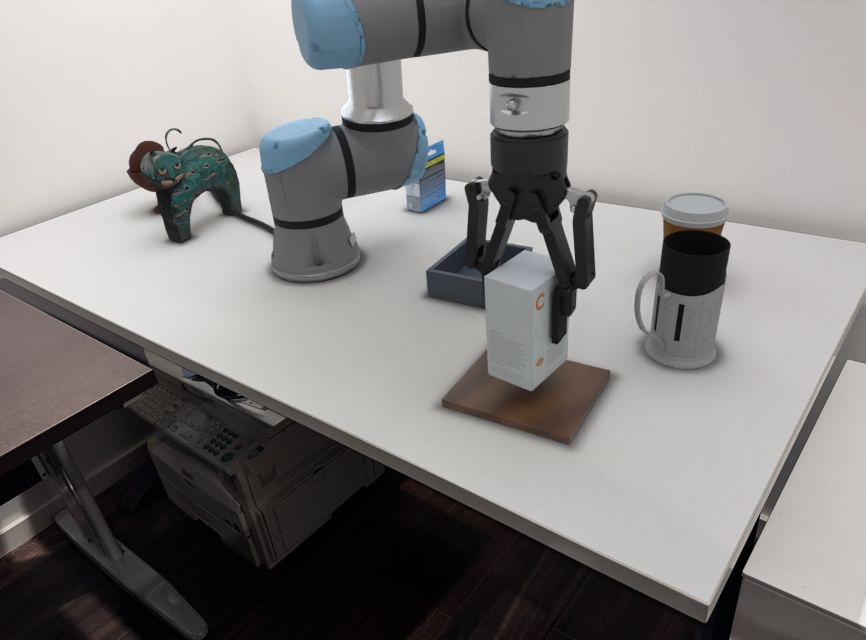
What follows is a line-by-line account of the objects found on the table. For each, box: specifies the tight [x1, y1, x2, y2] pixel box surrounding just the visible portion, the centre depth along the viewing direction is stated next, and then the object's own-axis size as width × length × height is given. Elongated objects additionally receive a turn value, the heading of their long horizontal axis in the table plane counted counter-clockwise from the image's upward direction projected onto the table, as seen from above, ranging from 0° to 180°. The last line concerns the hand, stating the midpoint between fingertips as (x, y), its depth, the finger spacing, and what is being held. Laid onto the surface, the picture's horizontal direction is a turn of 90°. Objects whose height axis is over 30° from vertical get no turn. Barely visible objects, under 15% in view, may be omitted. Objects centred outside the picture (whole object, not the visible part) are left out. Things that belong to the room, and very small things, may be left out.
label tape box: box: [405, 139, 447, 213], centre depth 133 cm, size 9×4×12 cm, turn 144°
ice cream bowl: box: [126, 140, 165, 215], centre depth 141 cm, size 11×11×15 cm
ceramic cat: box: [140, 127, 243, 244], centre depth 130 cm, size 20×6×20 cm, turn 150°
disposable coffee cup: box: [660, 191, 731, 240], centre depth 100 cm, size 10×10×12 cm
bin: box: [425, 237, 534, 309], centre depth 105 cm, size 12×14×4 cm
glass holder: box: [633, 230, 732, 370], centre depth 81 cm, size 9×14×15 cm, turn 125°
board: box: [441, 349, 611, 445], centre depth 81 cm, size 16×14×1 cm
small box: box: [484, 250, 570, 391], centre depth 76 cm, size 8×6×13 cm
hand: (527, 330), depth 77 cm, fingers closed on small box, 7 cm apart
